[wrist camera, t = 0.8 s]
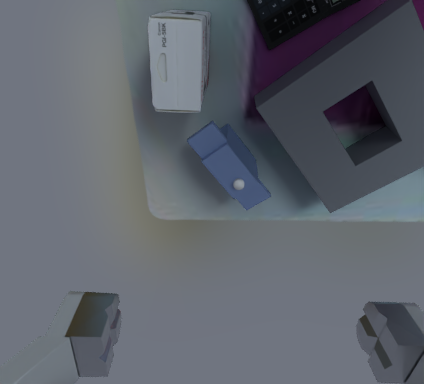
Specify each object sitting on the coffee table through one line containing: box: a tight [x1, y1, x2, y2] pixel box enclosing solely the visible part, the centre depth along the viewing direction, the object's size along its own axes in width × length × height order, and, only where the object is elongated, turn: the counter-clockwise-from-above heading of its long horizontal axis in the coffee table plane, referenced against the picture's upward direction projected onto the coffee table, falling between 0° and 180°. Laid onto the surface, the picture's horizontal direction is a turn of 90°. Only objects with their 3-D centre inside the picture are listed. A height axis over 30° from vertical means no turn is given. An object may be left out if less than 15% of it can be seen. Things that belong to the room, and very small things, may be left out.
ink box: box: [148, 10, 211, 113], centre depth 34 cm, size 9×5×12 cm, turn 178°
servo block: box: [187, 121, 271, 210], centre depth 43 cm, size 4×13×8 cm, turn 38°
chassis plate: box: [254, 0, 424, 213], centre depth 40 cm, size 18×19×5 cm
